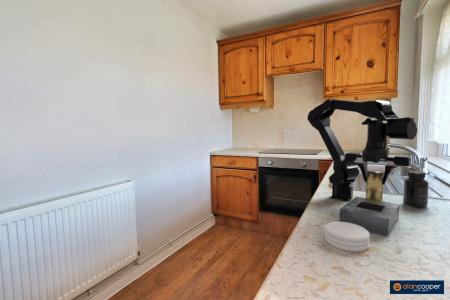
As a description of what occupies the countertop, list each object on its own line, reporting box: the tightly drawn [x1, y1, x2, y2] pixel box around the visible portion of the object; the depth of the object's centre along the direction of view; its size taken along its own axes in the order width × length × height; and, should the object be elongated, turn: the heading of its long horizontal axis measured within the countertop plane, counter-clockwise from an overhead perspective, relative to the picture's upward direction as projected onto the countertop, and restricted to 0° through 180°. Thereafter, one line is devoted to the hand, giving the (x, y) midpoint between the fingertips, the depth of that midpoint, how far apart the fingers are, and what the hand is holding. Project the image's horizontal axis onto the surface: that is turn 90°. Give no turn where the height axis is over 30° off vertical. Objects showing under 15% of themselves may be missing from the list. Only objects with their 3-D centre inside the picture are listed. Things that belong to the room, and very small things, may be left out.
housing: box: [338, 196, 401, 237], centre depth 71 cm, size 12×16×4 cm
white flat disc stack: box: [324, 221, 371, 253], centre depth 59 cm, size 10×10×4 cm
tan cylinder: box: [364, 170, 385, 201], centre depth 82 cm, size 5×5×10 cm
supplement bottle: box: [402, 170, 430, 209], centre depth 83 cm, size 7×7×12 cm
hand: (374, 183), depth 82 cm, fingers closed on tan cylinder, 5 cm apart
